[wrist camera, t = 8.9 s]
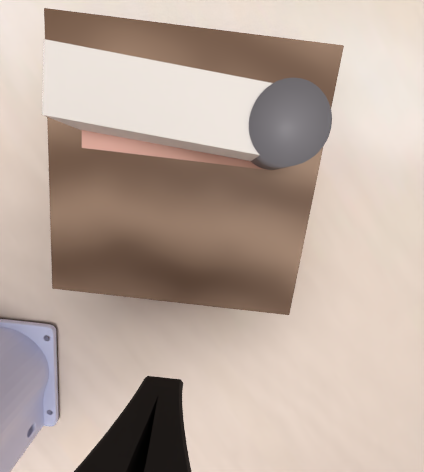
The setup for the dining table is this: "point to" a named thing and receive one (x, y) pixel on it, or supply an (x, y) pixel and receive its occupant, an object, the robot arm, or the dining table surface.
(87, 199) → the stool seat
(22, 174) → the dining table surface
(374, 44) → the dining table surface
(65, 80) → the white bar with cylinder
